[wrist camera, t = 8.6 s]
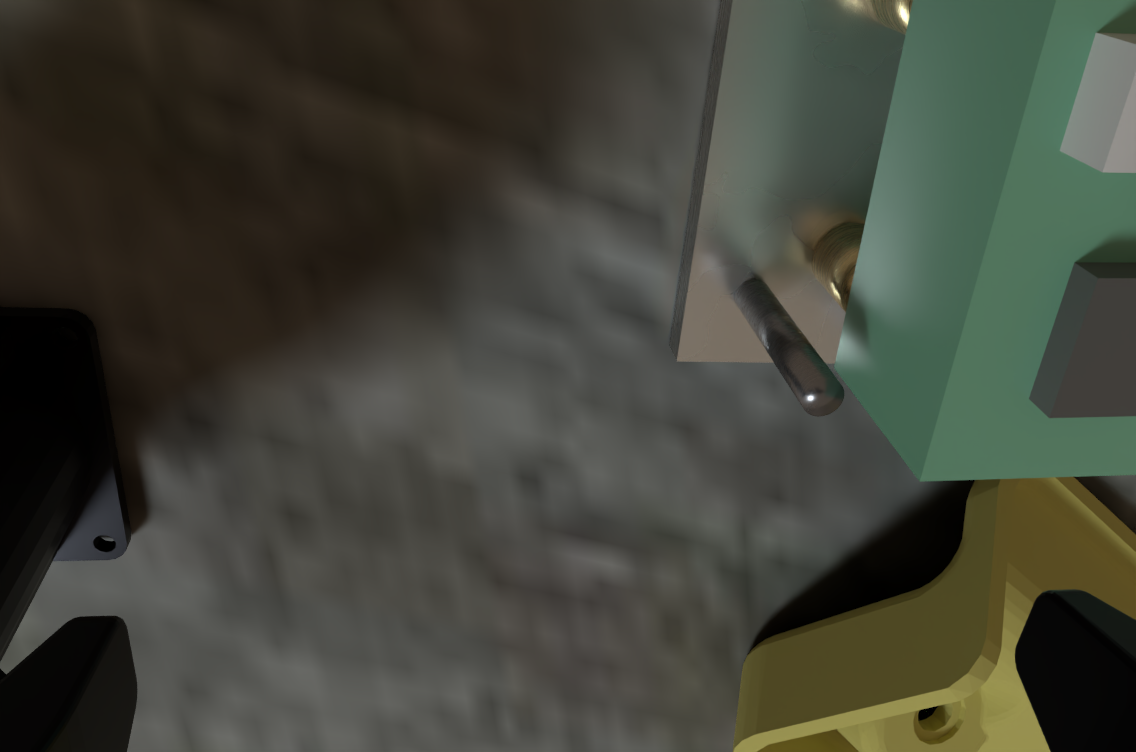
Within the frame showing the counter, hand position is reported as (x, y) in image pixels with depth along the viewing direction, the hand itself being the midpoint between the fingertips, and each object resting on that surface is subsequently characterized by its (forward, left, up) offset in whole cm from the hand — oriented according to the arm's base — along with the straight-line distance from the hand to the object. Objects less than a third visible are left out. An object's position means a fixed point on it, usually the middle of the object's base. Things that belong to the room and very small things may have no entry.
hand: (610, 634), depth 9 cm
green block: (+2, -9, -10) cm, 13 cm away
